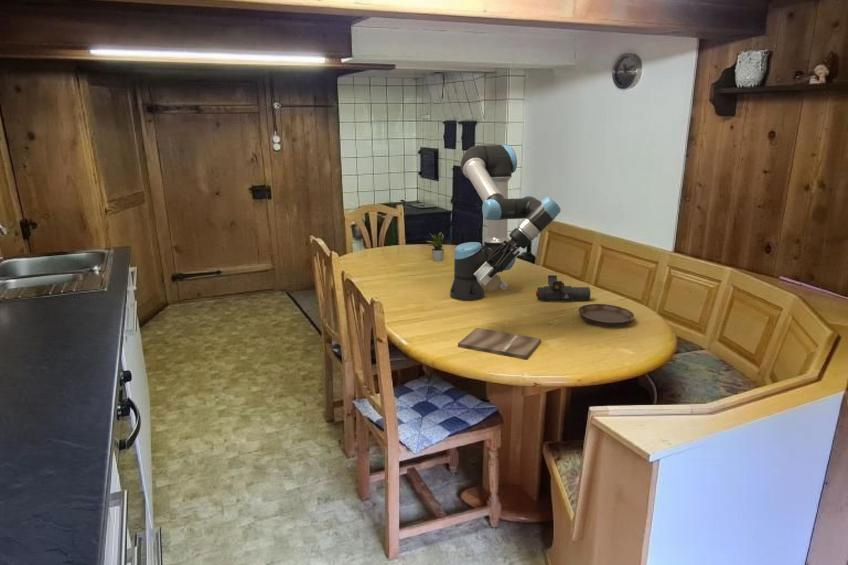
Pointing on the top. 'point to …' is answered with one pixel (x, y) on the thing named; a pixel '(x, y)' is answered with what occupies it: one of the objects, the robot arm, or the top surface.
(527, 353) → the board
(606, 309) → the plant saucer
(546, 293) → the laser sight
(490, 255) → the robot arm
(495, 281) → the ceramic mug
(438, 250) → the house plant
